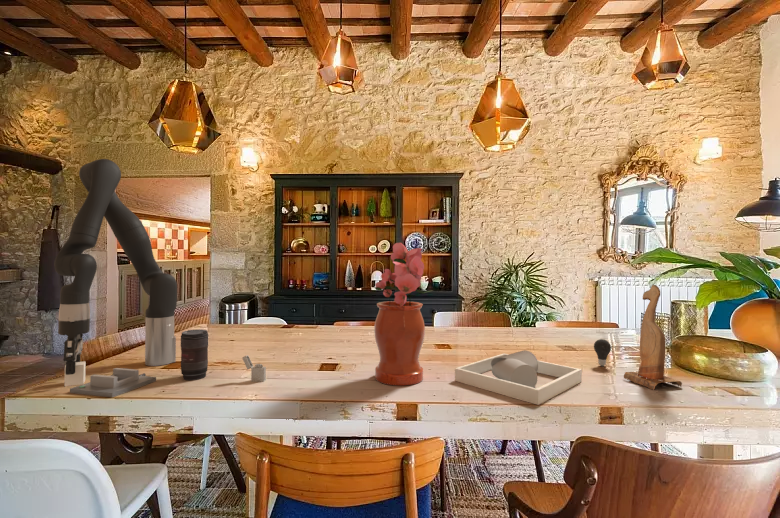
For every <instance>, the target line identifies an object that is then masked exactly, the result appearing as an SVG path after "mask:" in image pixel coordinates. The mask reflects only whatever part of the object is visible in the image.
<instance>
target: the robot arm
mask: <svg viewBox="0 0 780 518" xmlns="http://www.w3.org/2000/svg"><path fill="white" fill-rule="evenodd" d="M78 174H79V175H78V176H79V179H80V181H81V183H82V185H83V186H84V188H85V189H86V190H87V192H88V194H87V196H86V199H85V200H84V202H83V204H82V206H80V208H79V210H78V212H77V213H76V214H75V215H76V216H75V218H74V219H73V223H72V225H71V229H70V233H69V236H68V238H67V240H66V241H65V242H64V244H63V246H62V247H61V248H60V250H59V252H58V253H57V255H56V257H55V258H54V262H53V263H54V270H55V272H56V273H57V274H58V275H60V276H63V277H73V279H72V282H71V283H68V284H64V285H63V286H61V287H60V294H59V295H60V297H59V303H60V304H59V309H58V327H57V329H58V331H57V333H58V335H59V336H67V338H66V340H64V343H63V344H64V347H63V362H65V366H66V375H70V374H74V373H75V367H76V362H81V355H82V354H83V353H82V352H83V350H84V348H83V345H84V344H83V342H84V338H83V336H84V335H85V334H88V333H90V328H91V327H90V322H91V321H90V320H91V308H90V290H91V288H92V284H93V282H94V280H95V279H94V278H95V277H96V276H95V275H96V272H97V271H98V264H97V260H96V259H95V257H94V256H93V255H91V254H88V253H83V252H84V251H87V250H89V249H93V248H95V246H96V245H97V242H98V238H99V235H100V230H101V227H102V224H103V220H104V218H105V220H106V222H107V224H108V226H109V227H110V229H111V231H112V233H113V235H114V237H115V238H116V240H117V242H118V244H119V245H120V247H121V248H122V251H124V253H125V255H126V257H127V258H128V260H129V261H130V263H131V264H132V266H133V268H134V270H135V272H136V275H137V276H138V279H139V281H140V284H141V287H142V288H143V291H144V292H145V294H146V295H148V296H149V298H148V299H149V301H148V307H147V308H146V310H145V325H144V326H145V329H144V330H145V333H144V334H145V337H144V338H145V343H144V344H145V345H144V347H145V349H144V351H145V352H144V364H145V366H149V367H153V366H154V367H155V366H156V367H157V366H165V365H169V364H172V363H176V362H177V361H176V359H177V355H176V354H177V337H176V335H175V313H176V312H175V311H176V309H177V305H178V303H177V302H178V283H177V279H176V278H175V277H174V276H173V275H171V274H169V273H165V272H163V271H162V269H161V268H160V266H159V264H158V263H157V260H156V259H155V256H154V252H153V248H152V243H151V238H150V236H149V233H148V232H147V230H146V228H145V226H144V224H143V222H142V221H141V219H140V218H139V217H138V216H137V215H136V214H135V213H134V212H133V211H132V210H131V209H130V208H128V207H127V206H126V205H125V204H124V203H123V201H122V200H120V198H119V196H118V194H117V193H116V190H117V187H118V185H119V183H120V182H121V177H122V171H121V168H120V167H119V165H117V163H116V162H115V161H113V160H111V159H108V158H99V159H95V160H93V161H91V162H88V163H85V164H84V165H82V166H81V167H80V168H79V172H78Z"/></svg>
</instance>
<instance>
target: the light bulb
mask: <svg viewBox="0 0 780 518" xmlns="http://www.w3.org/2000/svg"><path fill="white" fill-rule="evenodd" d="M593 349H594V351H595V353H596V355H597V360H598V365H600V367H604V366H606V365H607V359H608V356H609V354H610V353H611V350H612V346H611V343H610V342H609V341H608V340H606V339H603V338H600V339H597V340H596V341H594V344H593Z"/></svg>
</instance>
